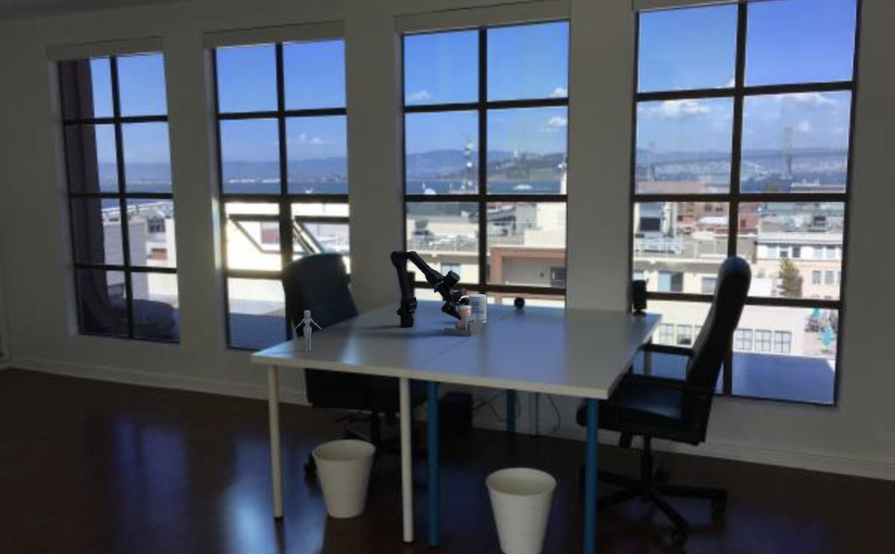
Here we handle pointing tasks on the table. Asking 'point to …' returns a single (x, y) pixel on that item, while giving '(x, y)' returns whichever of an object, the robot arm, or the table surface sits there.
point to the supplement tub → (478, 306)
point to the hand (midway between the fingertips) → (466, 317)
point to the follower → (470, 320)
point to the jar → (463, 315)
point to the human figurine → (307, 327)
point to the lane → (473, 330)
